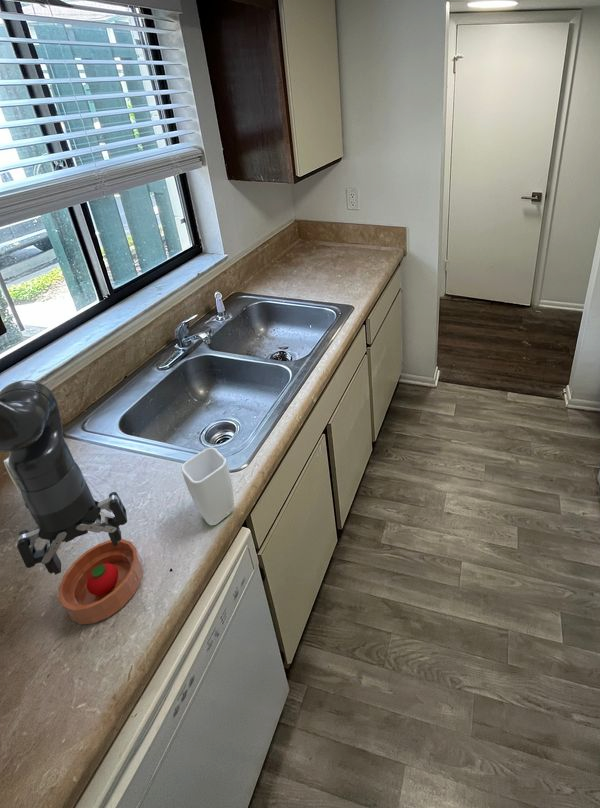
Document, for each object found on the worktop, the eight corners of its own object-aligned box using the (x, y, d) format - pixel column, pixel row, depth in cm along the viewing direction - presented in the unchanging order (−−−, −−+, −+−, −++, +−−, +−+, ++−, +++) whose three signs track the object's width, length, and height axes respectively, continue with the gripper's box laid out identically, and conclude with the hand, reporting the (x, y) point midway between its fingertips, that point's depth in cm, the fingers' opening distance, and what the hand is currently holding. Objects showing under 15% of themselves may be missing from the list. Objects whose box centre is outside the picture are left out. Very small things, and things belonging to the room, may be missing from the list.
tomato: (91, 606, 79) (82, 590, 77) (91, 582, 82) (82, 566, 80) (122, 590, 81) (114, 574, 79) (120, 567, 85) (112, 551, 83)
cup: (194, 514, 95) (177, 466, 89) (224, 491, 100) (211, 444, 94) (210, 534, 91) (195, 486, 85) (242, 509, 96) (229, 462, 90)
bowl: (67, 642, 74) (57, 626, 72) (68, 578, 84) (59, 562, 82) (147, 597, 81) (140, 581, 78) (140, 542, 90) (133, 526, 88)
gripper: (107, 456, 77) (132, 517, 84) (3, 497, 70) (39, 560, 76) (109, 487, 71) (135, 550, 78) (-4, 535, 64) (36, 599, 71)
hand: (88, 555), depth 77 cm, fingers open, 8 cm apart
